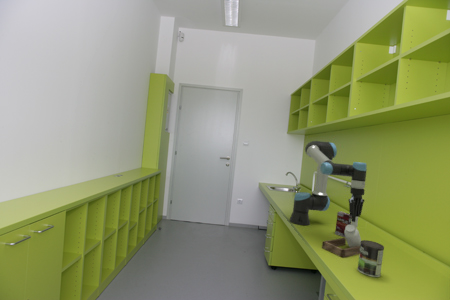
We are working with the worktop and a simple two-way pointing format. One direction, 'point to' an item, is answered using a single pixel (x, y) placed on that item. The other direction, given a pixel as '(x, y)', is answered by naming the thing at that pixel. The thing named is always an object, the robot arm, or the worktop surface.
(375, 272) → the coffee can
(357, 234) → the pill bottle
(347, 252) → the frame
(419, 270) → the worktop surface
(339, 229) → the supplement box
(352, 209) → the robot arm
